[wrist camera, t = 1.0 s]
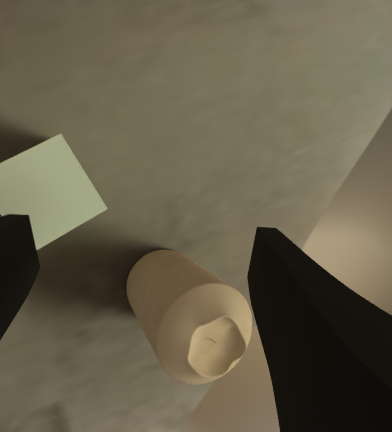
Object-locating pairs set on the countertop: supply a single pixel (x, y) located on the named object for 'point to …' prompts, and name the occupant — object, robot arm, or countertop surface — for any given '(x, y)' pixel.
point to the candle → (188, 316)
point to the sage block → (48, 190)
